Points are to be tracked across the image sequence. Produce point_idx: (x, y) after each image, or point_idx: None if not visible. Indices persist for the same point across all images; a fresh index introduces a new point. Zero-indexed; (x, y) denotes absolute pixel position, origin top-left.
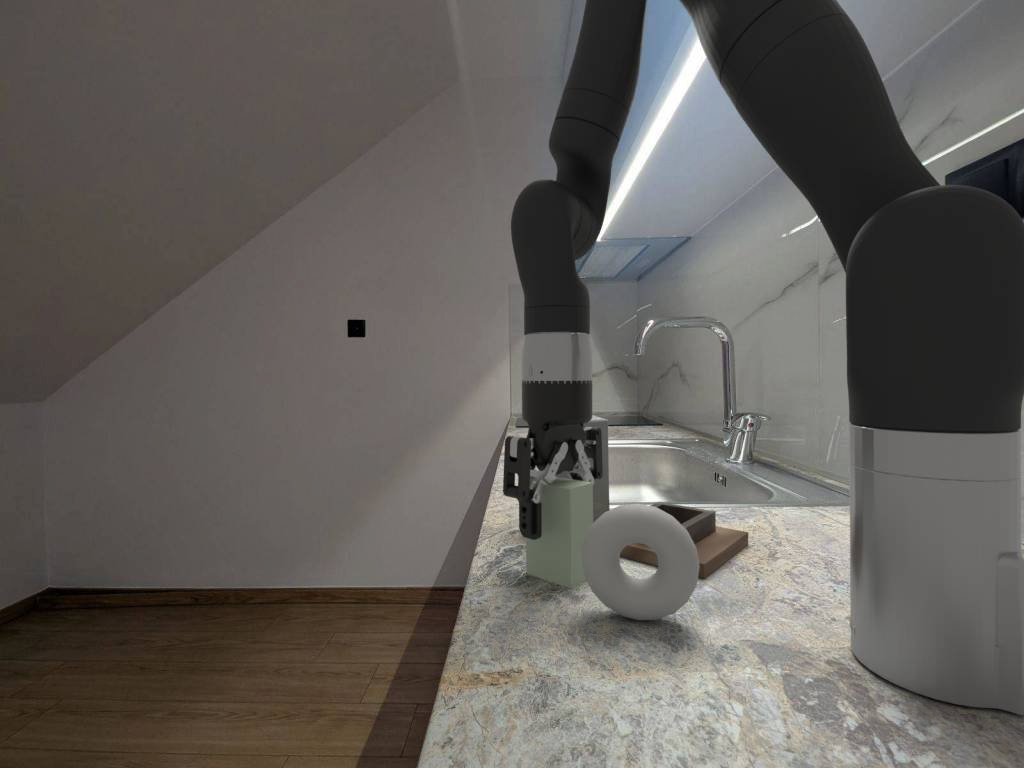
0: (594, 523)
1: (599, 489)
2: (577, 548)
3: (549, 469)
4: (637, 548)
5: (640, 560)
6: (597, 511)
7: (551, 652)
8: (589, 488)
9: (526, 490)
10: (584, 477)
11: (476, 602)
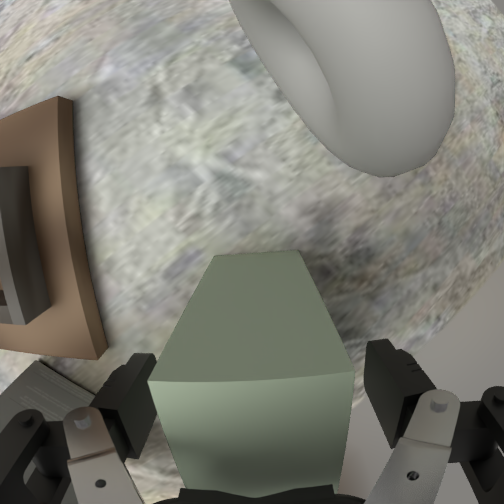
0: (445, 122)
1: (8, 420)
2: (279, 275)
3: (441, 475)
4: (70, 247)
5: (82, 234)
6: (36, 396)
7: (471, 137)
8: (182, 366)
9: (500, 407)
10: (112, 443)
11: (439, 322)
